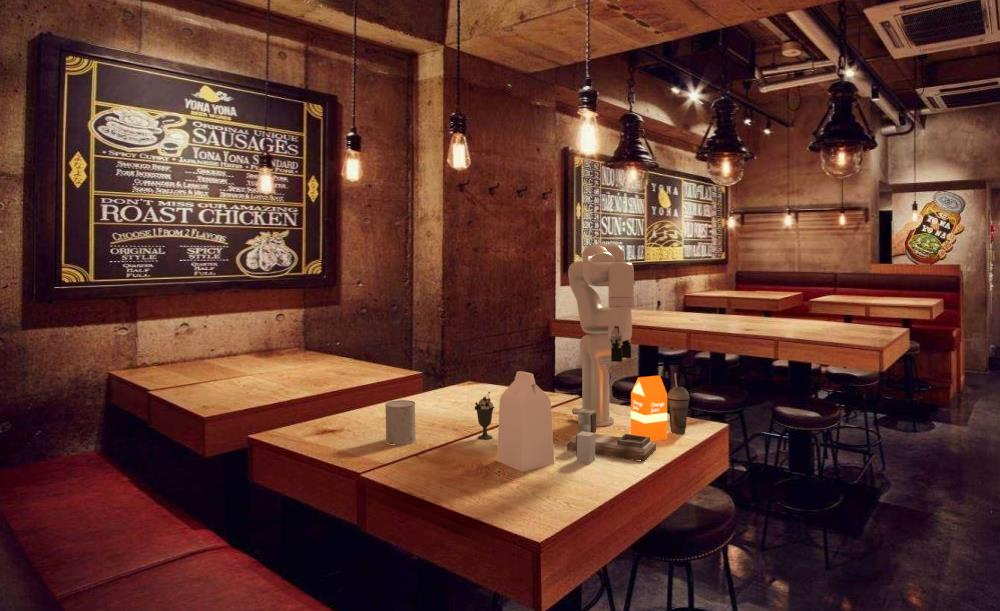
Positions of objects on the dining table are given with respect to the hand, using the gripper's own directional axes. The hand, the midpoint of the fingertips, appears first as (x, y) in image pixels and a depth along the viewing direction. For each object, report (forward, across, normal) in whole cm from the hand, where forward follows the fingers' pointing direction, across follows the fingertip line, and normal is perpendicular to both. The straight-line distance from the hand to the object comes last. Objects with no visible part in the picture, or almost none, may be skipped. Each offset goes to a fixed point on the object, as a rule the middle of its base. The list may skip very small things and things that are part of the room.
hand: (621, 359), depth 192 cm
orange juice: (+27, -16, +4) cm, 32 cm away
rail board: (+28, +2, -3) cm, 28 cm away
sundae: (+27, +7, -44) cm, 52 cm away
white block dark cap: (+28, +15, -6) cm, 32 cm away
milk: (+28, +24, -22) cm, 43 cm away
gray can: (+27, +22, -66) cm, 75 cm away
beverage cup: (+27, -26, +12) cm, 39 cm away
